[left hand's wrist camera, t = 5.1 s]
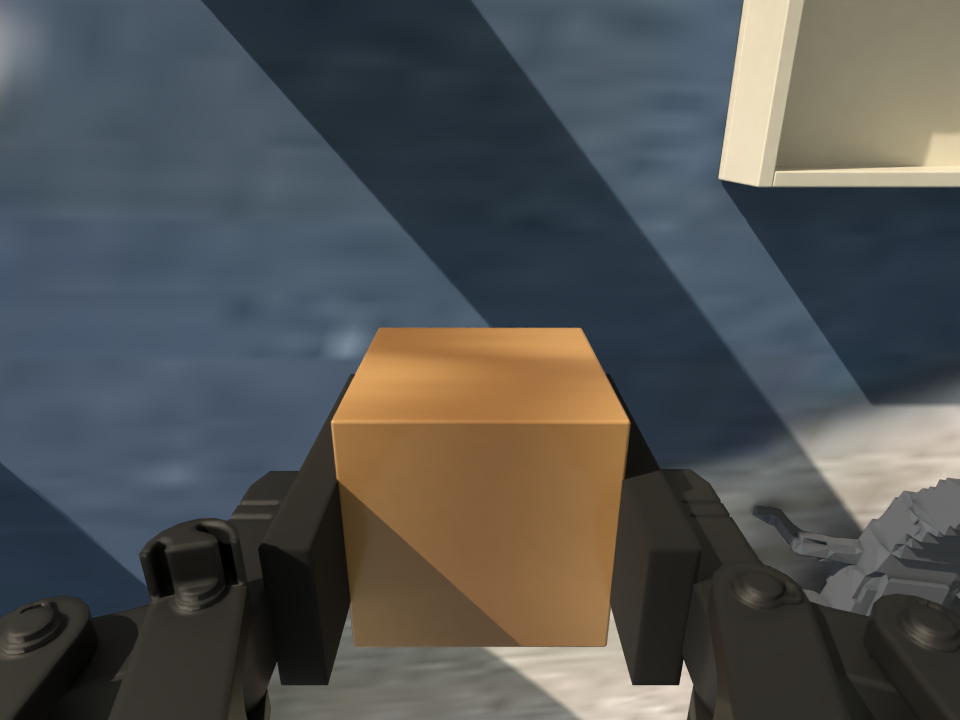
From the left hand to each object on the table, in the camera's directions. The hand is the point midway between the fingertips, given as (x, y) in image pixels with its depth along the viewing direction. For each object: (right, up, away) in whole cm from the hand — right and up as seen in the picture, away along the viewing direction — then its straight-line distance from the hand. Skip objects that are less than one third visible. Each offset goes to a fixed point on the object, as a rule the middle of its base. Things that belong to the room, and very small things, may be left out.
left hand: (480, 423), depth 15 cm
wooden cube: (0, 0, 0) cm, 0 cm away
